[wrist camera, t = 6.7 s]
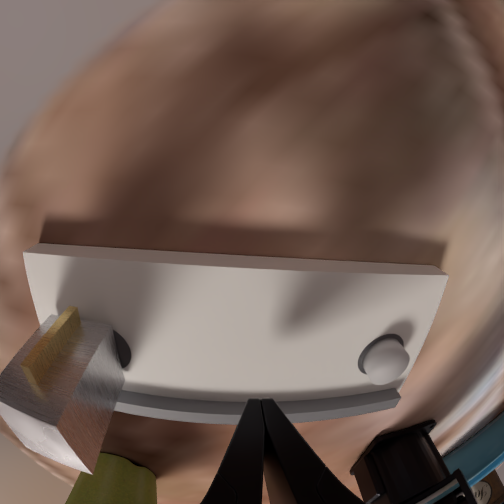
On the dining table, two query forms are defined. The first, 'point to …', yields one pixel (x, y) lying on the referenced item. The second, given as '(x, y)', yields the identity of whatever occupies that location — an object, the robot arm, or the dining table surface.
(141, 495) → the plant pot
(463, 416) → the dining table surface
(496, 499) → the wooden container
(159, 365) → the plate
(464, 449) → the casserole dish
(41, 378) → the slider
